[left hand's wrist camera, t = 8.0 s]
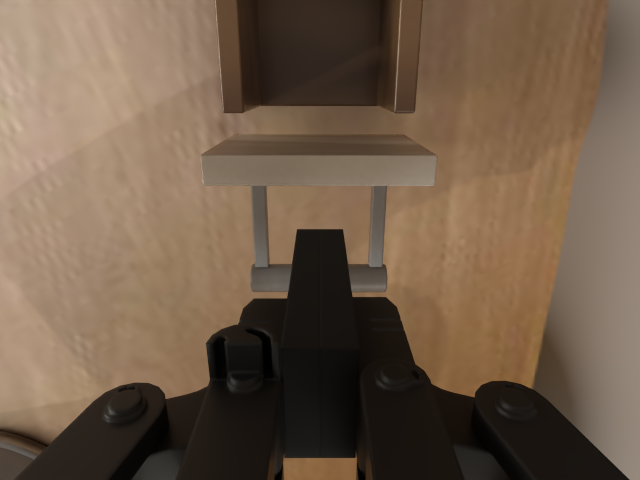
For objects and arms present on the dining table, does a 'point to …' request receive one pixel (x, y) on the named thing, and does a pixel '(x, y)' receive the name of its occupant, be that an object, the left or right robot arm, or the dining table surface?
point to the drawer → (318, 90)
